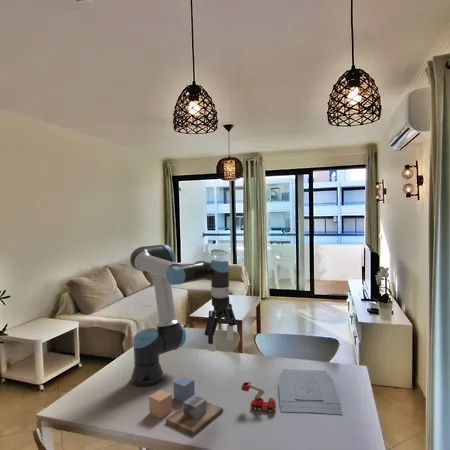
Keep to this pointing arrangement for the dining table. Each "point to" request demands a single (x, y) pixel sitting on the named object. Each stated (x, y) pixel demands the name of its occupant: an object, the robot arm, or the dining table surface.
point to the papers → (308, 392)
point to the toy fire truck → (260, 399)
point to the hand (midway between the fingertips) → (221, 345)
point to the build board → (194, 423)
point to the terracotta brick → (160, 403)
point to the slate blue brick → (183, 388)
